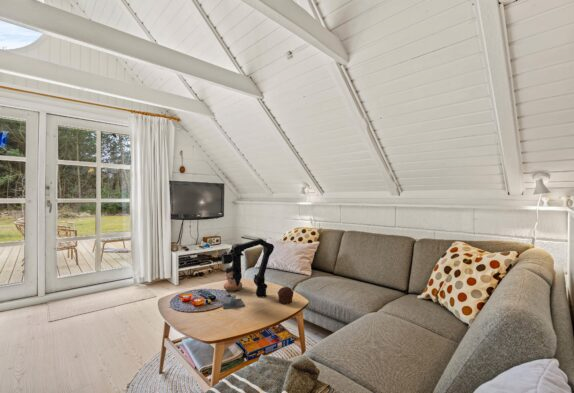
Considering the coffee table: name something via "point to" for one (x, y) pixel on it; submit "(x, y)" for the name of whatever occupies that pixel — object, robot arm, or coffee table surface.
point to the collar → (229, 299)
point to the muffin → (285, 295)
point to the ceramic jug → (231, 283)
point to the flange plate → (238, 304)
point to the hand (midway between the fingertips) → (237, 284)
